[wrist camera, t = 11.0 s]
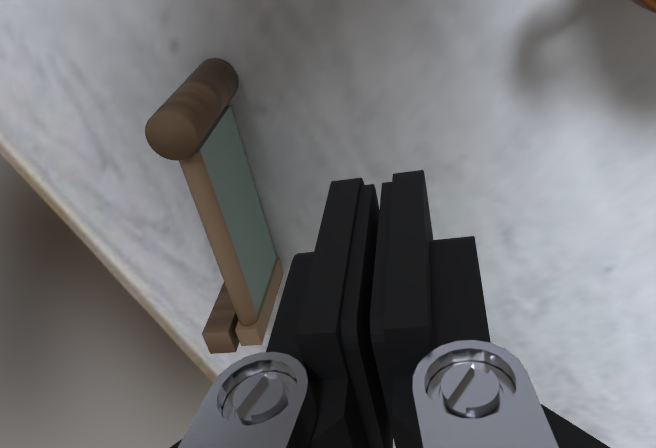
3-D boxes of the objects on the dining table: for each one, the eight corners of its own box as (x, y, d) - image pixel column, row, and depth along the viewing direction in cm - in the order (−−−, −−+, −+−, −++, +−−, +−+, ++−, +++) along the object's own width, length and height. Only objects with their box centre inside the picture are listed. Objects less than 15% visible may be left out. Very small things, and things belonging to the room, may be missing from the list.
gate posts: (192, 59, 40) (139, 112, 32) (234, 57, 39) (190, 111, 32) (237, 273, 50) (205, 353, 42) (271, 274, 50) (245, 355, 42)
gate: (212, 108, 41) (171, 163, 34) (233, 105, 41) (196, 159, 34) (265, 274, 49) (241, 345, 42) (283, 272, 49) (261, 344, 42)
